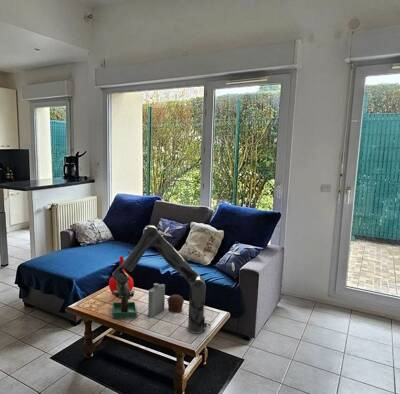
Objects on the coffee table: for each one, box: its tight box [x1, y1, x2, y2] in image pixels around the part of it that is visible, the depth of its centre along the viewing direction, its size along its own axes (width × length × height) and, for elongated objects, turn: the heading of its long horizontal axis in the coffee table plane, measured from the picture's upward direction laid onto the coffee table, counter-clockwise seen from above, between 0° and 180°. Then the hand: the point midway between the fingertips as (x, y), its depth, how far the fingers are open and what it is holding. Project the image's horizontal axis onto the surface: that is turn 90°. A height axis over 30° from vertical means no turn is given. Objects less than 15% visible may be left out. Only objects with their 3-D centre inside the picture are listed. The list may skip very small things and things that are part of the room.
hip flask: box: [147, 282, 166, 318], centre depth 229 cm, size 16×4×20 cm, turn 142°
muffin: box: [166, 294, 185, 313], centre depth 234 cm, size 12×11×10 cm
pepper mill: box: [120, 296, 129, 312], centre depth 228 cm, size 5×5×12 cm
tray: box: [112, 301, 138, 319], centre depth 229 cm, size 15×15×4 cm
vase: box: [108, 255, 135, 299], centre depth 253 cm, size 18×18×30 cm
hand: (124, 297), depth 230 cm, fingers closed on pepper mill, 5 cm apart
